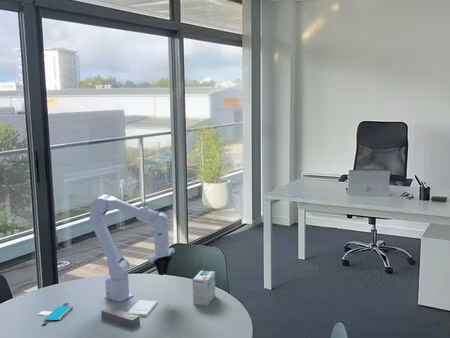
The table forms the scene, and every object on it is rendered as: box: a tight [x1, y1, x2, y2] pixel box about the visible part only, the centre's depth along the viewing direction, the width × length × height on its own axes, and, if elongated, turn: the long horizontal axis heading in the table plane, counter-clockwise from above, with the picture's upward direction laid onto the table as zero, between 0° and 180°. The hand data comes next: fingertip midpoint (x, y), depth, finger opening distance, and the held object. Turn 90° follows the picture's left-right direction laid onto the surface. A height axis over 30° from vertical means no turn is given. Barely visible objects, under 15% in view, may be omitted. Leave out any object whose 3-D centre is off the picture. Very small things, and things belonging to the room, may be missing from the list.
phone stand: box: [38, 302, 74, 326], centre depth 184 cm, size 20×12×2 cm, turn 174°
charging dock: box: [100, 306, 141, 329], centre depth 177 cm, size 16×4×3 cm, turn 57°
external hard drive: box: [127, 299, 158, 318], centre depth 187 cm, size 2×8×12 cm
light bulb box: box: [192, 270, 216, 306], centre depth 194 cm, size 11×7×11 cm, turn 164°
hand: (162, 273), depth 196 cm, fingers closed
